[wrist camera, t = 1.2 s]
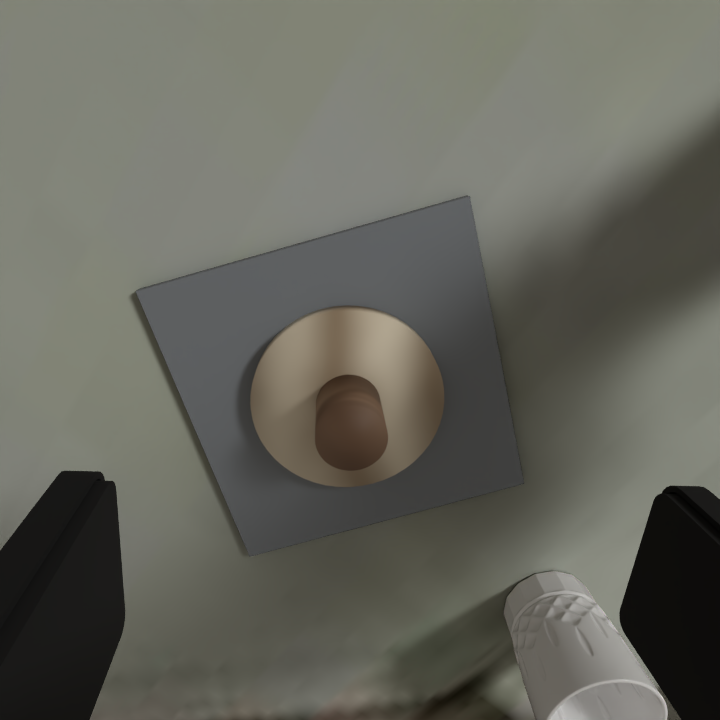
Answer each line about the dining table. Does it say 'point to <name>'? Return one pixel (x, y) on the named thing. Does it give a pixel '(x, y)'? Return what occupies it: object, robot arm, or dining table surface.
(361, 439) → the lid
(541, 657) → the white cup
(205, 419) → the mat
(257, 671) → the dining table surface
